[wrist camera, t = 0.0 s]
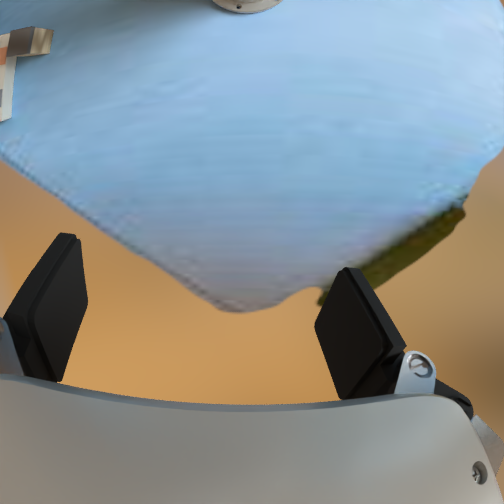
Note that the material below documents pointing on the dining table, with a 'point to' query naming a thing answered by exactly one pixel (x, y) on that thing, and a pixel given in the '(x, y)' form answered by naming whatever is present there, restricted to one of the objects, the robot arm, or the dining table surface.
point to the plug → (29, 42)
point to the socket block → (6, 78)
